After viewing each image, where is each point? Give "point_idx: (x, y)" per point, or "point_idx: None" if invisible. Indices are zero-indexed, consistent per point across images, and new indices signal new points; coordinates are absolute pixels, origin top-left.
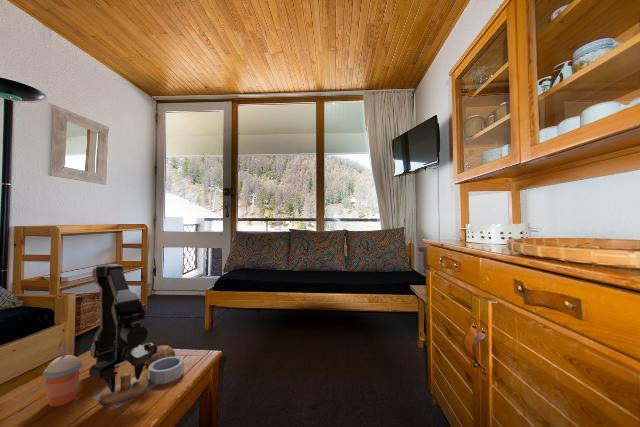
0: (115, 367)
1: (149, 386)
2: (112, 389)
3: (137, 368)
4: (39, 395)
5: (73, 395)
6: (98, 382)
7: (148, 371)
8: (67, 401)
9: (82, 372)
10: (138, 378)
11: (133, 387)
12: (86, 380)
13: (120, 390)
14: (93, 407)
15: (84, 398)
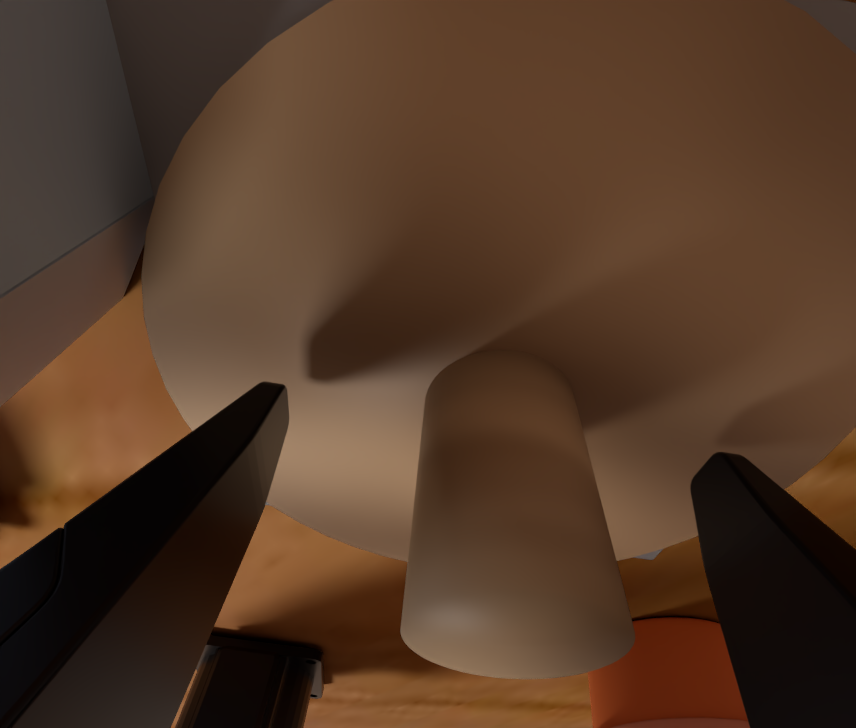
0: (216, 646)
1: (241, 46)
2: (798, 510)
3: (173, 615)
4: (587, 715)
5: (677, 663)
6: (400, 621)
7: (13, 387)
8: (715, 640)
9: (344, 701)
10: (269, 391)
11: (479, 287)
12: (404, 665)
13: (592, 415)
14: (830, 452)
15: (628, 583)
